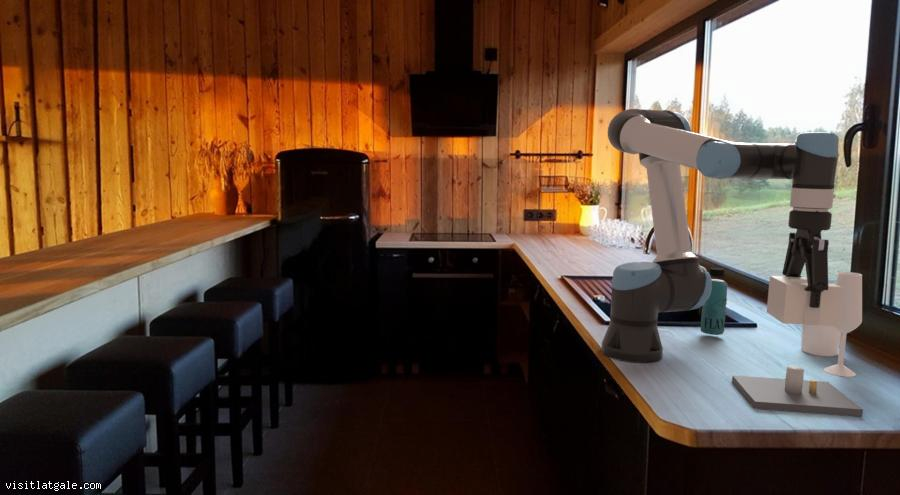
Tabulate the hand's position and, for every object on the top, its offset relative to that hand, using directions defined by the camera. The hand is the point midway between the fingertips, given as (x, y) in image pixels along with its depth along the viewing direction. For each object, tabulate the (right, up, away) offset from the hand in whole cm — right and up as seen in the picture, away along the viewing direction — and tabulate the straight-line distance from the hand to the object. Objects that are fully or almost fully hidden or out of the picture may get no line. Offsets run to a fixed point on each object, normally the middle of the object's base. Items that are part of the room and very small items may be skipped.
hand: (800, 316), depth 131 cm
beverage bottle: (+2, -11, +49) cm, 50 cm away
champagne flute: (+21, -16, +20) cm, 33 cm away
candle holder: (+25, -14, +37) cm, 47 cm away
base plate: (0, -18, +2) cm, 18 cm away
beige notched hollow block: (0, 0, 0) cm, 1 cm away
